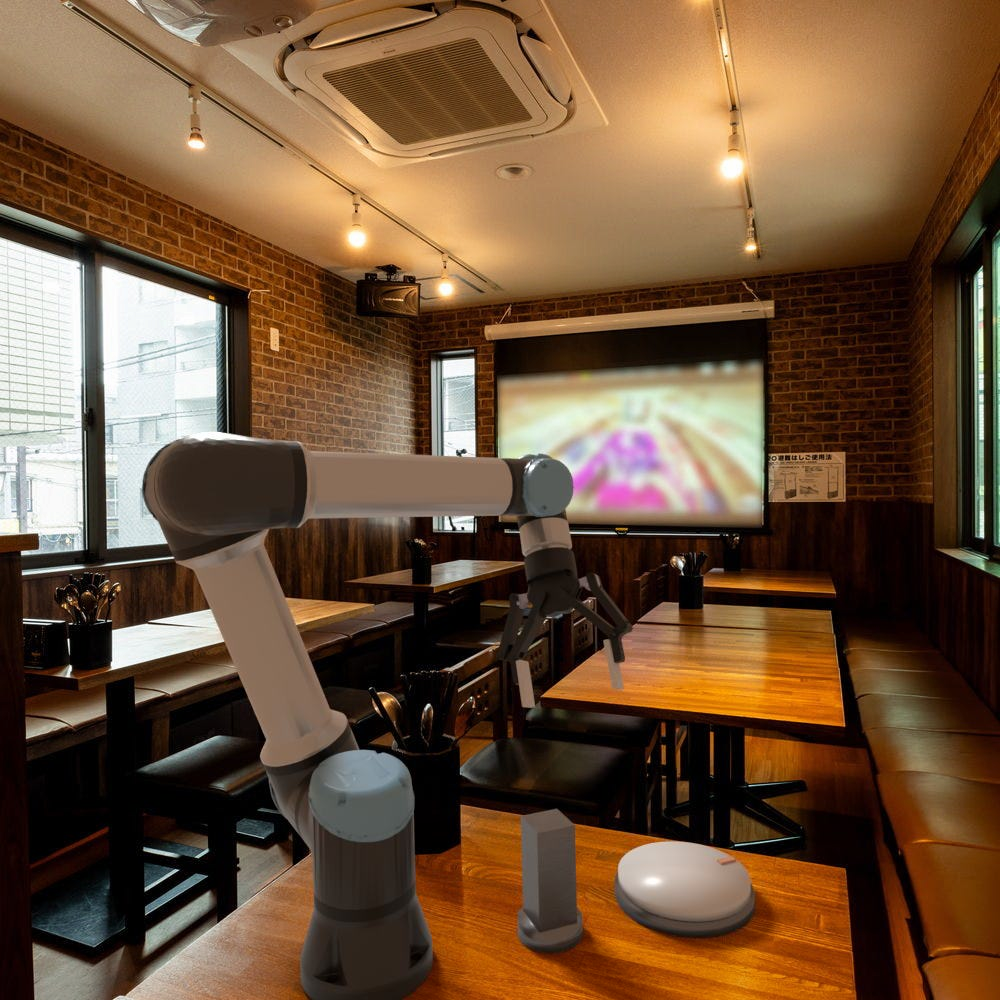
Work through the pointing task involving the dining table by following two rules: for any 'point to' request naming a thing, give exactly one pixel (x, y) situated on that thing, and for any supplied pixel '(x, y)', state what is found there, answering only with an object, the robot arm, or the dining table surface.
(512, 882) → the dining table surface
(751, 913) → the base
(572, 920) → the square post on disc
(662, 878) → the turntable platter
